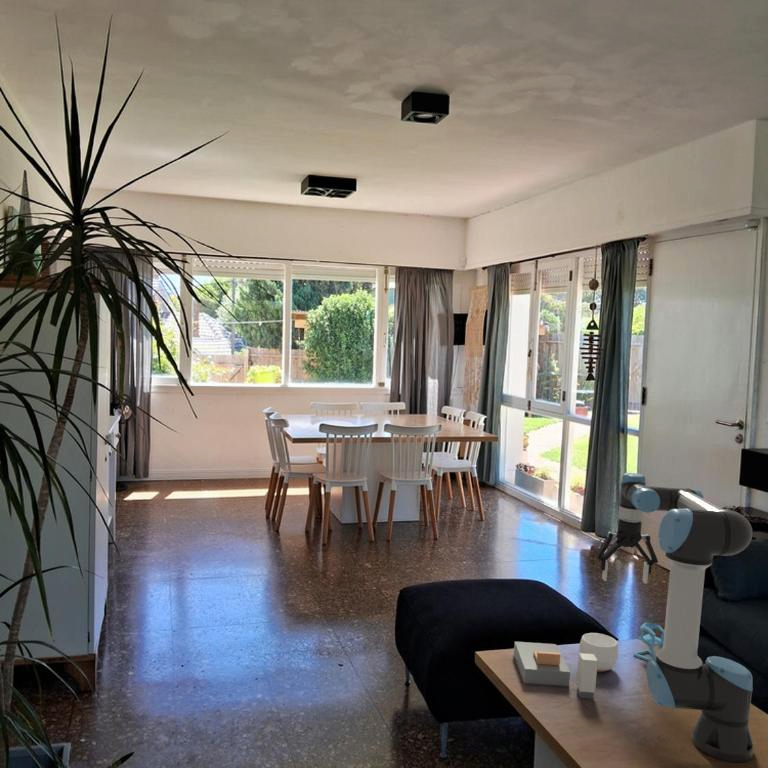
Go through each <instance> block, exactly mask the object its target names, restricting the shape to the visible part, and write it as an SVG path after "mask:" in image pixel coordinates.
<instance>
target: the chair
mask: <svg viewBox="0 0 768 768" xmlns="http://www.w3.org/2000/svg"><path fill="white" fill-rule="evenodd" d="M653 629H658V630H660V632H661V635H660V637H657V636H656V633H655V632H654V631H653ZM639 630H640V636H637V640H639V641H640V642H641V641H642V643H644V644H645V645H646V646H647V647H648V649H643V650H641V651H637V652H634V653H633V657H635V658H638V659H640V660H644V661H647V662H649V661H651V660H654V661H655V660H656V654H655V650H654V647H656V646H658V650H660V649H661V648H663V641H664V631H665V629H663V628H662V626H661V625H659V624H656V623H653V622H644V623H643V624H642V625H640V628H639ZM644 631H645V632H648V634H645V635H644ZM644 654H649V655H650V656H651V657H652V658H651V657H647V656H644Z"/></svg>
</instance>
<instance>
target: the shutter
mask: <svg viewBox="0 0 768 768" xmlns="http://www.w3.org/2000/svg"><path fill="white" fill-rule="evenodd" d="M560 653H561V652H560ZM560 653H559V652H545V651H534V652H533V654H534V657H535V659H536V661H537V664H548V665H560Z"/></svg>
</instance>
